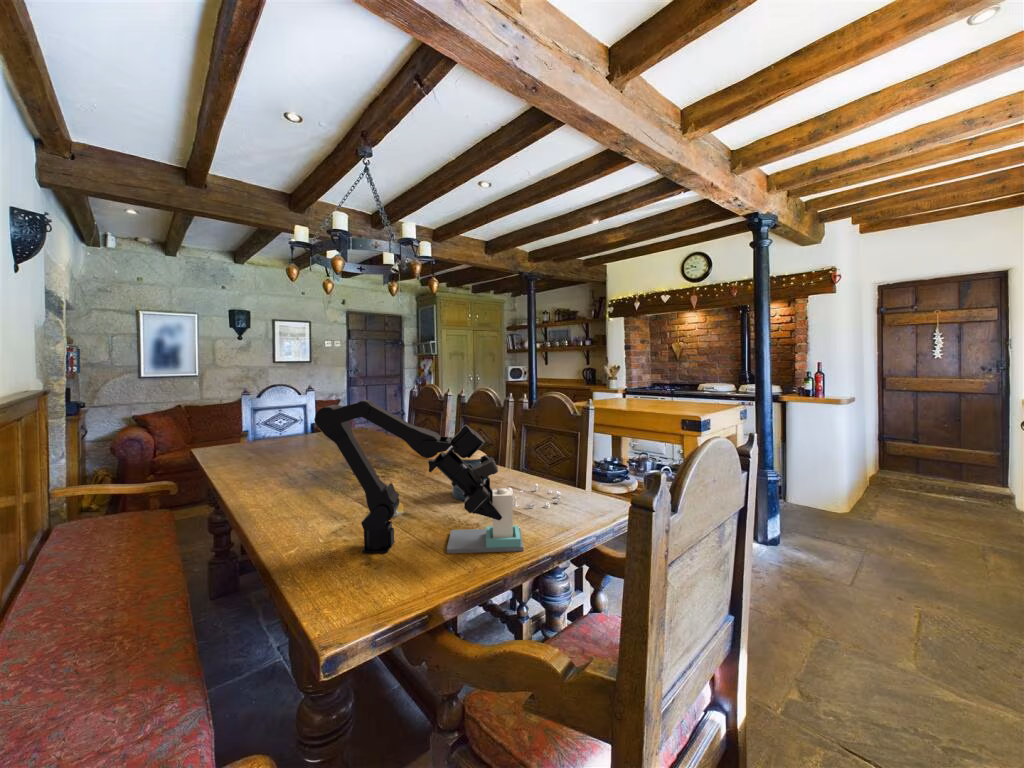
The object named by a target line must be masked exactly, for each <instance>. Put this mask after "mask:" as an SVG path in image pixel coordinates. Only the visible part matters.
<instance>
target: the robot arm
mask: <svg viewBox="0 0 1024 768" xmlns="http://www.w3.org/2000/svg"><path fill="white" fill-rule="evenodd" d="M359 418H363V419H365V420H367V421H369V422H371V423H373V424H374V425H376V426H378V427H379V428H381V429H383V430H385V431H387V432H388V433H390V434H391V435H394V436H396V437H397V438H399V439H401V440H403V442H405V443H406V444H407V445H408V446H409V447H410V448H411V449H412V450H413V451H415V453H417V454H418V455H420V457H422V458H425V459H429V460H428V461H427V463H428V472H429V473H432V472H433V471H434V470H435V469H436V468H437V470H439V471H440V472H441V473H442V474H443V475H444V476H445V477H446V478H447V479H448V480H449V481H450V482H451V483H450V484H451V486H452V487H453V486H455V485H456V486H457V487H458V488H459V489H460V490H461V491H462V492H463V496H464V497H465V500H464V502H463V503H464V505H463V506H464V510H466V512H467V513H469V514H476V515H480V516H483V517H487V518H490V519H492V520H493V519H496V520H501V519H502V516H501V515H500V513H499V512H498V511H497V509H496V508H495V507H494V505H493V492H492V490H493V489H492V488H491V478H490V476H491V475H495V474H497V473H499V467H498V466H497V463H496V461H495V459H494V457H492V456H490V457H489V456H488V455H487V454H486V455H484V456H482V457H481V463H478V464H477V465H475V466H472V465H471V464H469V463H468V464H466V463H465V462H464V461H463V460H462V459H461V458H460V457H462V458H466V457H468V458H470V457H471V456H472V455H473V454H474V453H475V452H476V451H477V450H480V448H481V447H482V446H483V445H484V444H485V443H486V441H485V440H484V438H483V437H482V436H481V435H480V434H479V433H478V432H477V430H475V429H472V428H471V427H470V426H468V425H467V424H464V425H463V426H462V427H461V428H460V430H459V431H458V432H457V433H456V434H455V435H454V436H453V437H452V436H443V435H440V434H439V433H438V432H436V431H433V430H430V429H428V428H424V427H420V426H416V425H413V424H411V423H409V422H407V421H405V420H404V419H402V418H400V417H399V416H397V415H395V414H393V413H391V412H390V411H388V410H387V409H384V408H383V407H381V406H379V405H377V404H375V403H374V402H373V401H372V400H371V399H370V400H369V399H364V400H361V401H358V402H355V403H351V404H348V405H343V406H342V405H339V404H332V405H331V404H330V405H329V406H327V405H326V406H324V407H321V408H320V409H318V410H317V411H316V413H315V416H314V423H315V426H316V428H318V429H319V430H320V432H321V433H322V434H323V435H324V436H325V437H326V438H327V439H329V440H331V441H332V442H333V443H334V444H335V445H336V447H337V448H338V450H339V451H340V453H341V455H342V456H343V458H344V459H345V461H346V463H347V465H348V466H349V468H350V470H351V471H352V473H353V475H354V476H355V478H356V480H357V481H358V483H359V484H360V486H361V488H362V489H363V491H364V494H365V499H366V505H367V508H368V510H369V512H368V514H367V515H366V516H365V517H364V519H363V520H362V522H360V523H361V526H362V529H363V545H364V546H363V548H362V549H361V553H368V554H370V553H371V554H374V553H375V554H376V553H377V554H381V553H382V554H386V553H388V552H389V551H390V549H391V548H392V546H394V544H395V543H396V542H395V527H393V522H392V520H391V519H393V518H394V517H393V515H394V514H395V512H396V510H397V509H398V507H399V501H400V499H399V497H400V494H399V493H398V492H397V491H396V489H395V487H394V485H393V482H390V483H388V484H385V483H384V482H383V481H382V480H381V479H380V477H379V476H378V474H377V472H376V470H375V469H374V467H373V466H372V464H371V462H370V460H369V459H368V457H367V456H366V454H365V452H364V450H363V448H362V447H361V446H360V444H359V442H358V440H357V438H355V436H354V433H353V428H352V423H351V421H352V420H356V419H359ZM457 454H458V455H459V456H460V457H459V456H458V455H457ZM433 457H435V458H433ZM431 458H433V459H431ZM485 478H486V479H487V480H486V481H485V480H484V479H485Z"/></svg>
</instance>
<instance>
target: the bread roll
mask: <svg viewBox="0 0 1024 768" xmlns="http://www.w3.org/2000/svg"><path fill="white" fill-rule="evenodd" d="M403 512H404V505H403V503H402V502H401V501H400V500H399V507H398V509H397V510H396V512H395V514H394V515H393V517H392V518H396V517H399V516H400V515H402V514H403Z"/></svg>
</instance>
